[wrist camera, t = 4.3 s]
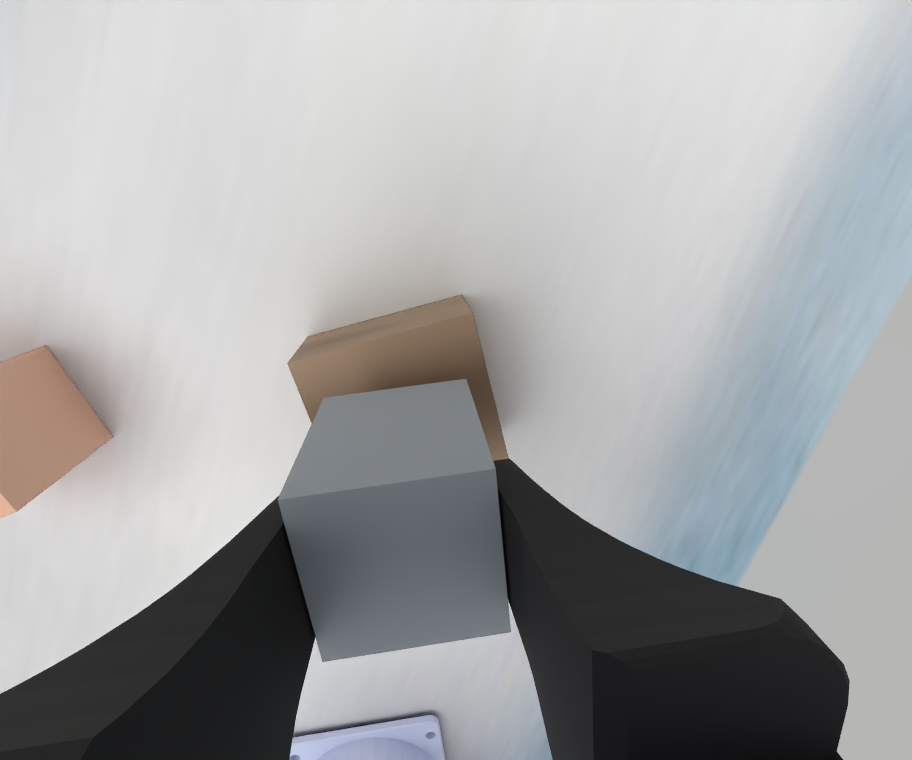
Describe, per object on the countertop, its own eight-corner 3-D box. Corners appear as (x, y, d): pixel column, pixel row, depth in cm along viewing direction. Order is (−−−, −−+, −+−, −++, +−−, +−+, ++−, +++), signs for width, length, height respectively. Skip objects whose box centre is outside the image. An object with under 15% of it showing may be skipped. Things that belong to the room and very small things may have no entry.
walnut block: (495, 430, 21) (512, 472, 17) (358, 467, 21) (349, 517, 17) (460, 293, 18) (472, 312, 15) (308, 335, 18) (287, 363, 15)
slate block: (479, 499, 15) (510, 631, 10) (350, 517, 15) (322, 662, 10) (466, 378, 14) (496, 468, 9) (323, 397, 13) (277, 499, 9)
